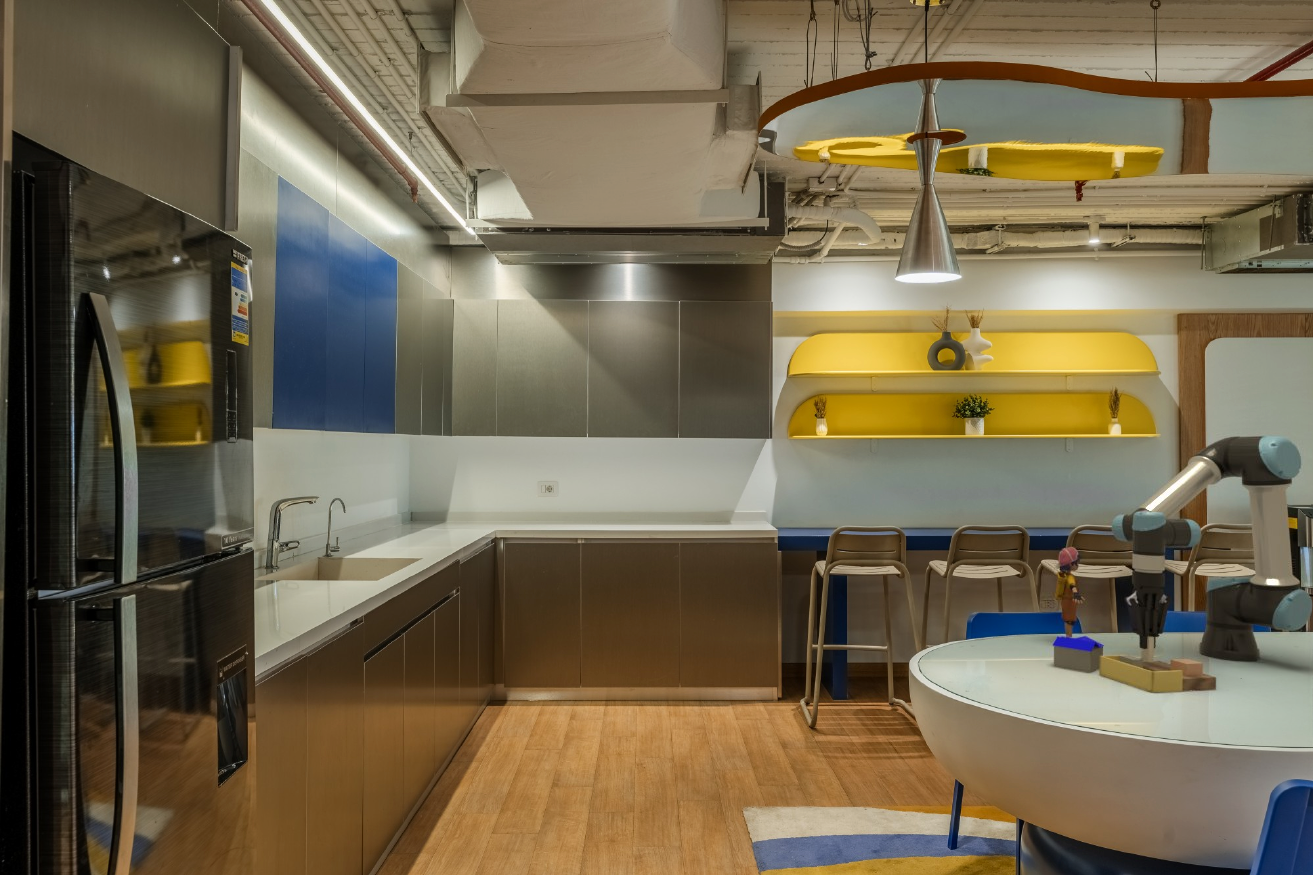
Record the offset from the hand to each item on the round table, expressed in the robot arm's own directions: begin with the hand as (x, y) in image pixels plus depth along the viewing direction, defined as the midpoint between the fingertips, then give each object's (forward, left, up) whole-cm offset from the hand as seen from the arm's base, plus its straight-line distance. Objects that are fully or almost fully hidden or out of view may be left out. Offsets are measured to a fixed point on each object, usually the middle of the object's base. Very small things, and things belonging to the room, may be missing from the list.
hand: (1147, 660), depth 235 cm
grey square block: (+4, 0, -1) cm, 4 cm away
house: (+10, -14, -5) cm, 18 cm away
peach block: (-5, +8, -1) cm, 9 cm away
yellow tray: (+6, +4, -4) cm, 8 cm away
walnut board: (-4, +4, -4) cm, 7 cm away
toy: (-9, -41, -5) cm, 42 cm away
